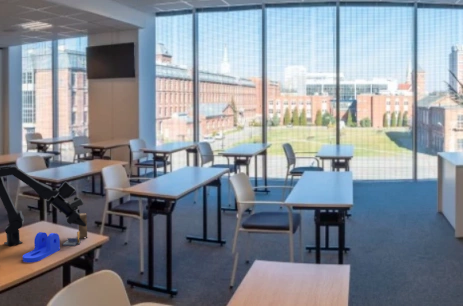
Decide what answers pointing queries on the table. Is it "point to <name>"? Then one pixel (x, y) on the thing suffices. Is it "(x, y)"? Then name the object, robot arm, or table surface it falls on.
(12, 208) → the robot arm
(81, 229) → the link block
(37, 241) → the bracket
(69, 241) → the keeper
